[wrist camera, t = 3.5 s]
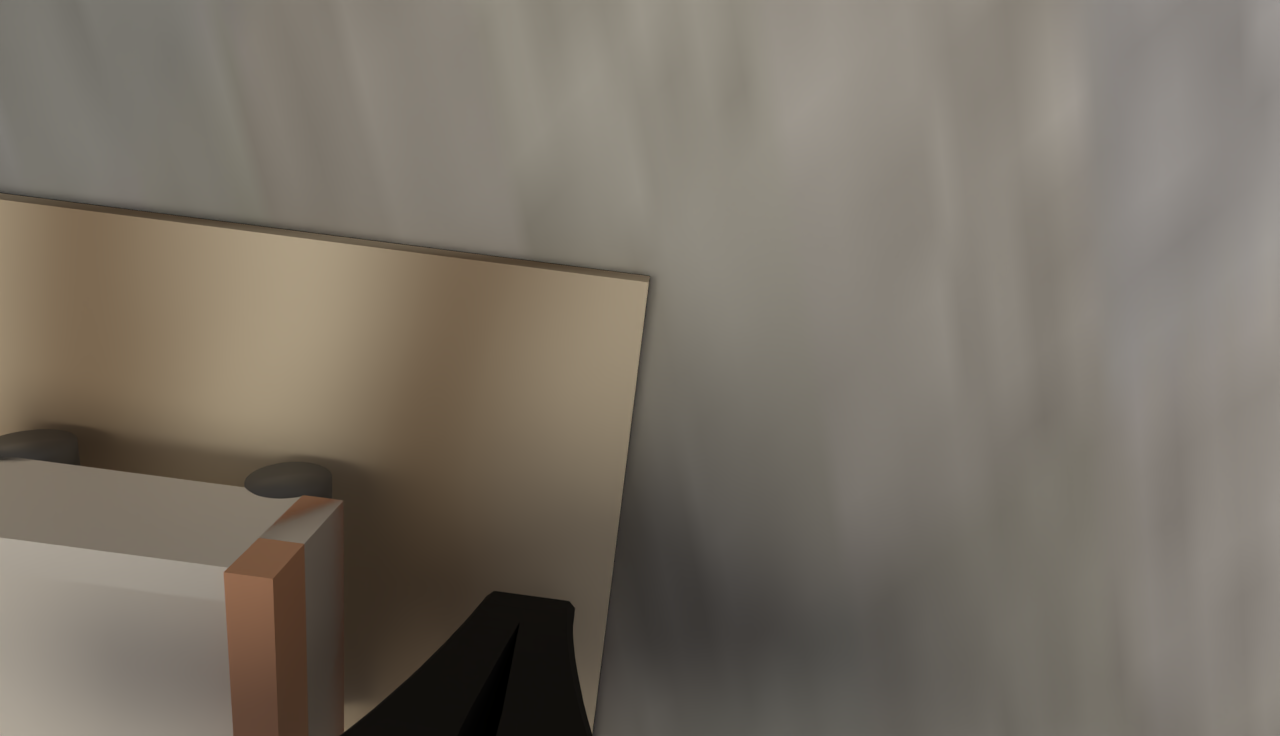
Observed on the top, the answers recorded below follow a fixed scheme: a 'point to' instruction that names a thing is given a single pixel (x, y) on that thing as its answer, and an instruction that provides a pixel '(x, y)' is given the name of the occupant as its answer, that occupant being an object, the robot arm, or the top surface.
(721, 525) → the top surface
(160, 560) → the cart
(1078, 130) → the top surface
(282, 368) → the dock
